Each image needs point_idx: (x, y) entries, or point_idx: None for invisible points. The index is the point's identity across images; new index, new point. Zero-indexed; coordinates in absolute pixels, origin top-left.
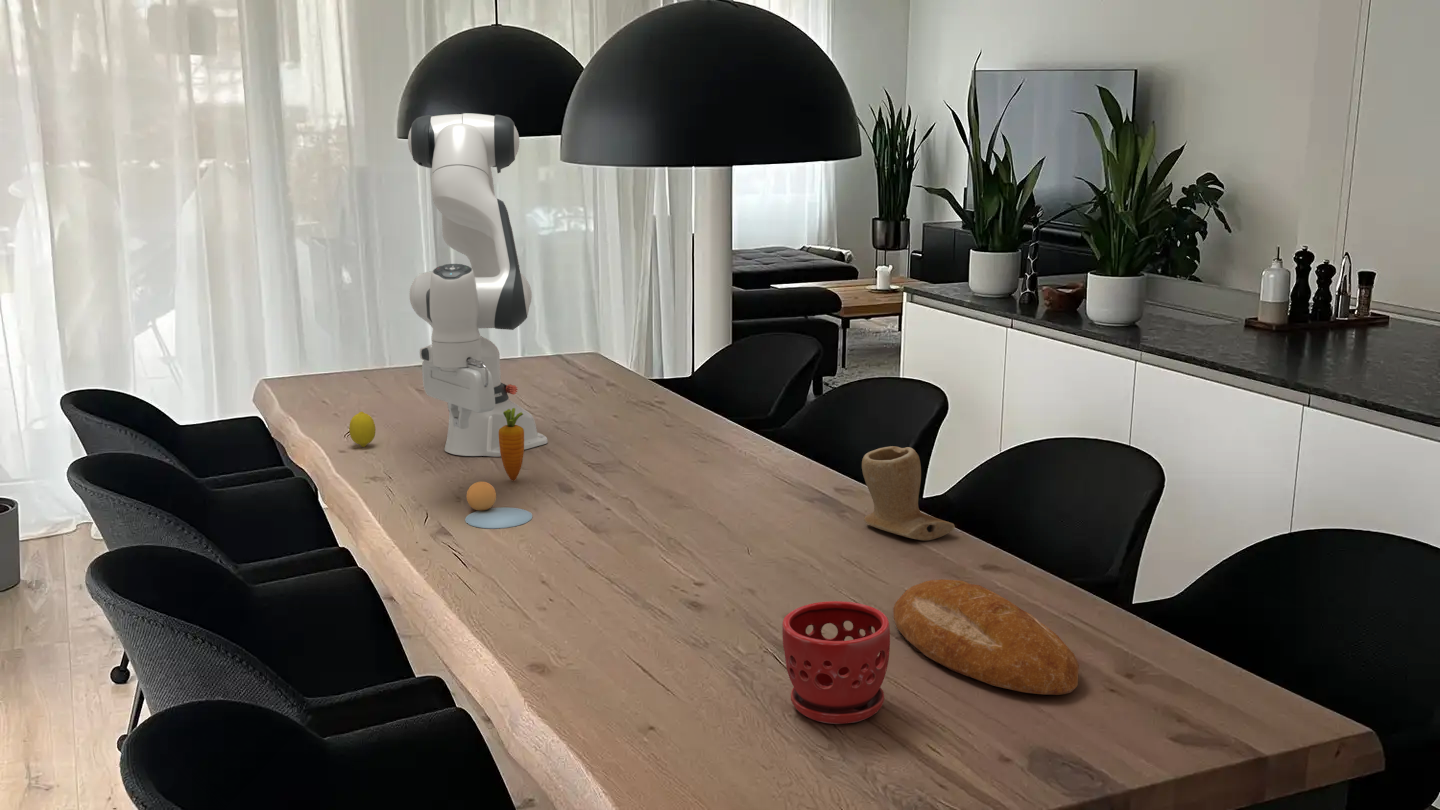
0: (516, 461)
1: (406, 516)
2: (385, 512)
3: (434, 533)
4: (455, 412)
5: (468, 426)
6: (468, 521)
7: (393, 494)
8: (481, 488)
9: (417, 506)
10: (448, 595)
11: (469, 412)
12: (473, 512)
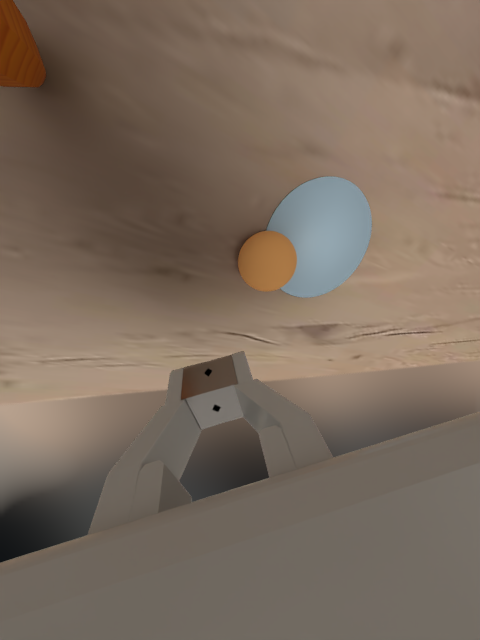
0: (19, 21)
1: None
2: None
3: (315, 340)
4: (179, 448)
5: (243, 352)
6: (306, 294)
7: (103, 358)
8: (291, 272)
9: (188, 339)
10: (464, 357)
11: (295, 412)
12: None
